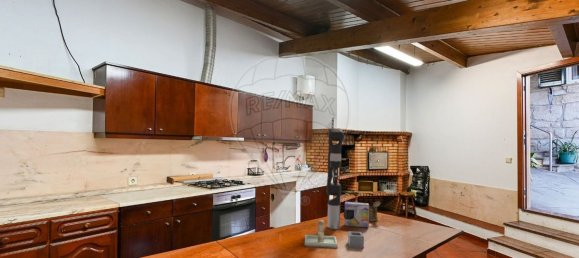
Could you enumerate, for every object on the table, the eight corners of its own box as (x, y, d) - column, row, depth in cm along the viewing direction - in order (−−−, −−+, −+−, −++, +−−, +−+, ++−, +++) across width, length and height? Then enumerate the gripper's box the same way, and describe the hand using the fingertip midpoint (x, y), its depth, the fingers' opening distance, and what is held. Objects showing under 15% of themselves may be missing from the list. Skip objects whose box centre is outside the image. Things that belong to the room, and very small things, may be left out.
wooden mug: (372, 223, 237) (373, 200, 238) (364, 218, 251) (365, 197, 251) (382, 223, 239) (383, 200, 240) (374, 218, 253) (374, 197, 253)
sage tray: (305, 238, 196) (305, 234, 196) (335, 240, 195) (335, 236, 195) (304, 246, 182) (304, 242, 182) (337, 248, 181) (337, 243, 181)
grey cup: (347, 242, 191) (348, 231, 192) (361, 243, 191) (361, 232, 191) (349, 247, 183) (349, 235, 183) (363, 247, 182) (363, 236, 182)
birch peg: (317, 240, 190) (318, 219, 191) (323, 240, 190) (324, 220, 191) (317, 242, 186) (318, 221, 187) (323, 242, 186) (324, 221, 187)
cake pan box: (343, 225, 230) (343, 202, 230) (343, 223, 234) (344, 201, 235) (368, 228, 224) (369, 204, 225) (368, 226, 229) (369, 203, 229)
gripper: (329, 159, 208) (328, 182, 207) (330, 160, 193) (330, 185, 193) (340, 159, 207) (339, 182, 207) (342, 161, 193) (341, 186, 192)
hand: (334, 184), depth 200 cm, fingers open, 8 cm apart
